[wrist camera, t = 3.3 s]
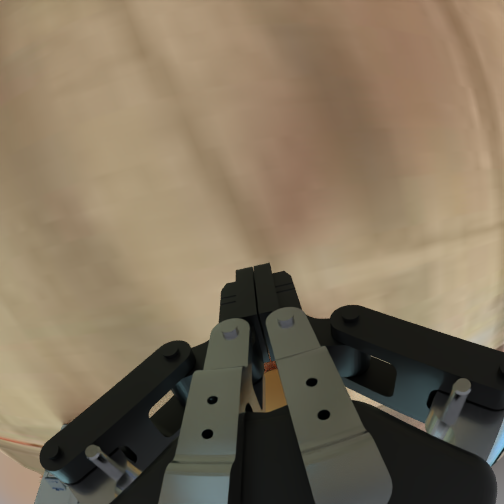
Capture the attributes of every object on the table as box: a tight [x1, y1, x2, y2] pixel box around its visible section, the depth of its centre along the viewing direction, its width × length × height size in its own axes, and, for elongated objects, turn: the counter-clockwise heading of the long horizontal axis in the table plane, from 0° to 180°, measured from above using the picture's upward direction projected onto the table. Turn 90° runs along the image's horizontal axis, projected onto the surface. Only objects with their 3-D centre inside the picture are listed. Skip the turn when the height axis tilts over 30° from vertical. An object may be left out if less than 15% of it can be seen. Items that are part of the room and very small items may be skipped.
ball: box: [264, 369, 287, 412], centre depth 17 cm, size 6×6×6 cm
